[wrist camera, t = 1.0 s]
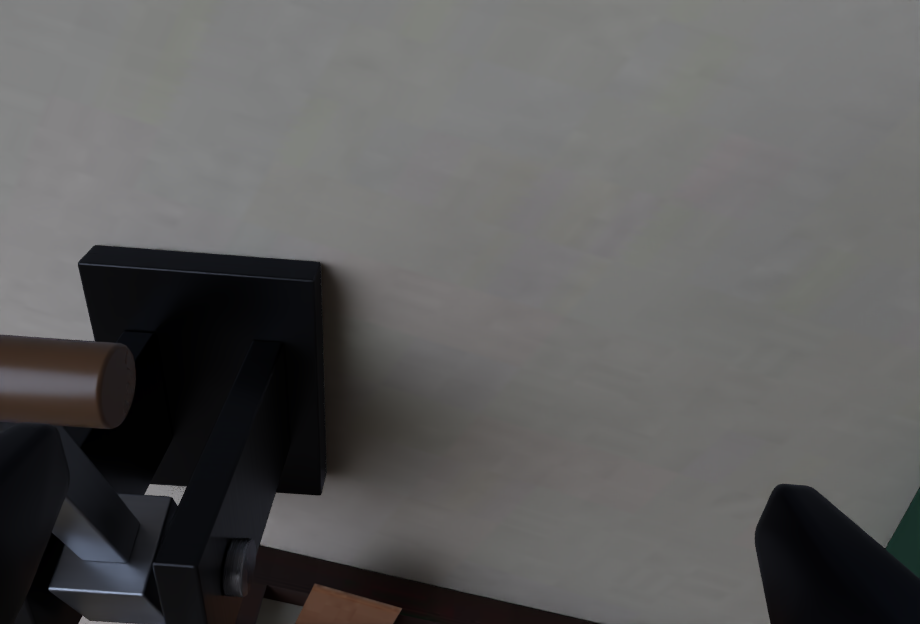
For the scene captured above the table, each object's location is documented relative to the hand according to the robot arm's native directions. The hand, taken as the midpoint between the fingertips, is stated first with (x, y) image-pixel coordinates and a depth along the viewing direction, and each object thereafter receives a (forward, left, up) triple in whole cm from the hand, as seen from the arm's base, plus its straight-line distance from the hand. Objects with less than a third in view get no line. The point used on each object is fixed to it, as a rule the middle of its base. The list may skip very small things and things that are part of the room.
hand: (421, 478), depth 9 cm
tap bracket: (-9, +7, -14) cm, 18 cm away
